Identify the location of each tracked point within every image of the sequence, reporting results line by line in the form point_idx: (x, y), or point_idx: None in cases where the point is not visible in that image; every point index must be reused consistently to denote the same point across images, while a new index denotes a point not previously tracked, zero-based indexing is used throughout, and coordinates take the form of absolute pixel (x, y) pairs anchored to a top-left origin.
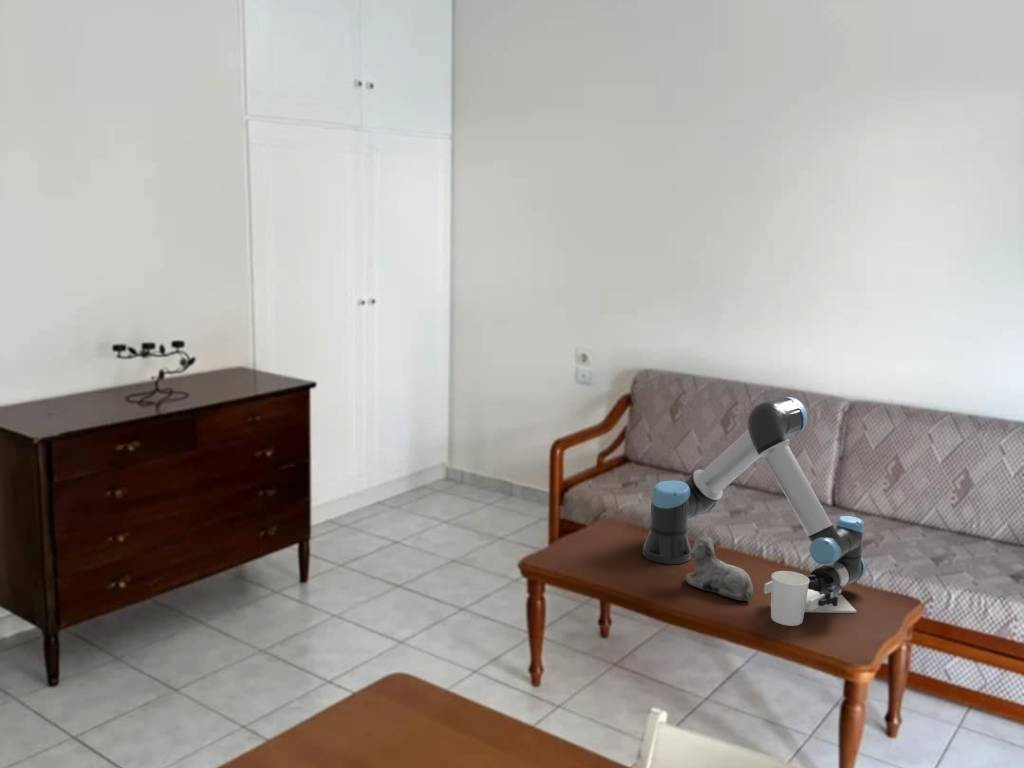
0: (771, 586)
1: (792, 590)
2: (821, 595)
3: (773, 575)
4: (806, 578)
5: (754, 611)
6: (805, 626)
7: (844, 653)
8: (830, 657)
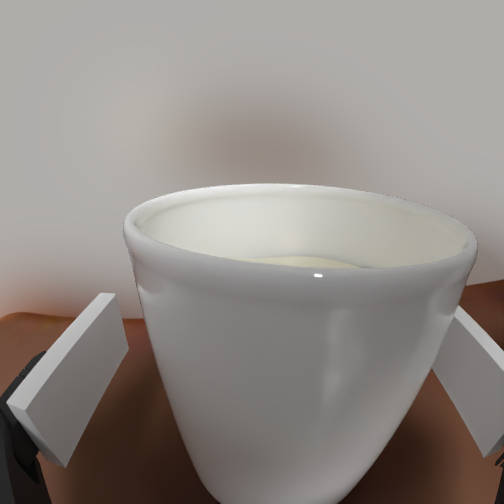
0: (453, 349)
1: (215, 227)
2: (35, 377)
3: (420, 221)
4: (182, 264)
5: (415, 404)
6: (168, 449)
7: (23, 344)
8: (59, 317)
